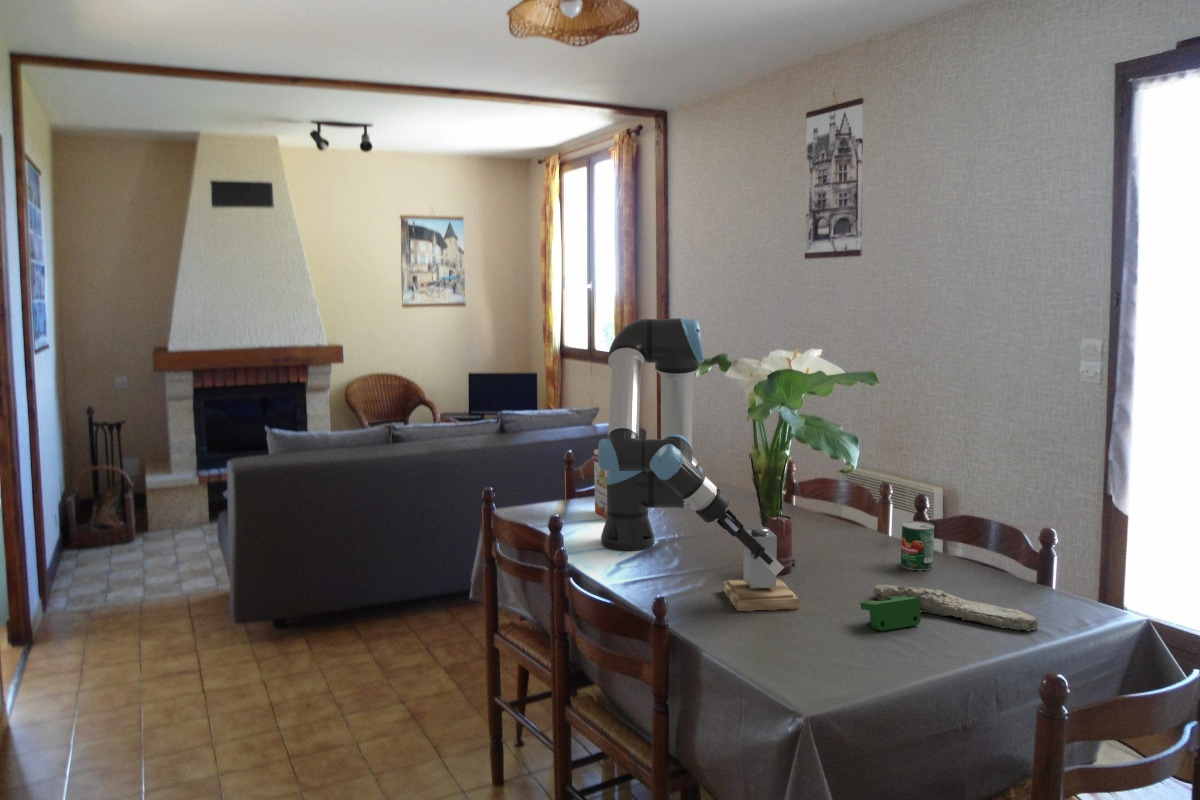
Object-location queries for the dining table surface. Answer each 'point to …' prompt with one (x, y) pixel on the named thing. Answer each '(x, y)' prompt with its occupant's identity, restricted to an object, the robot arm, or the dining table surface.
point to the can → (782, 540)
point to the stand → (760, 596)
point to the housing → (754, 568)
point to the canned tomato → (917, 545)
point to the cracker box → (600, 487)
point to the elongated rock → (959, 607)
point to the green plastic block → (893, 612)
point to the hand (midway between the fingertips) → (775, 566)
